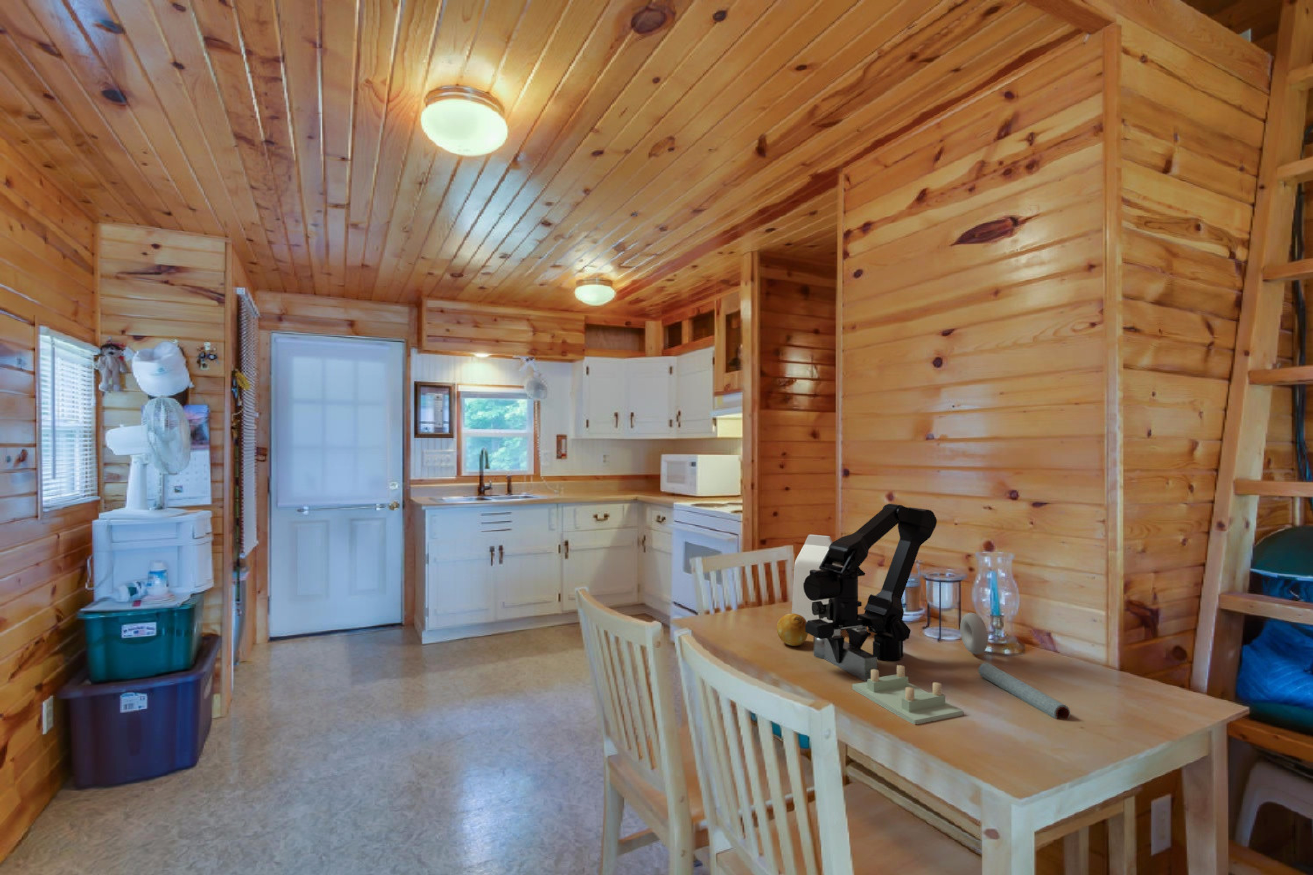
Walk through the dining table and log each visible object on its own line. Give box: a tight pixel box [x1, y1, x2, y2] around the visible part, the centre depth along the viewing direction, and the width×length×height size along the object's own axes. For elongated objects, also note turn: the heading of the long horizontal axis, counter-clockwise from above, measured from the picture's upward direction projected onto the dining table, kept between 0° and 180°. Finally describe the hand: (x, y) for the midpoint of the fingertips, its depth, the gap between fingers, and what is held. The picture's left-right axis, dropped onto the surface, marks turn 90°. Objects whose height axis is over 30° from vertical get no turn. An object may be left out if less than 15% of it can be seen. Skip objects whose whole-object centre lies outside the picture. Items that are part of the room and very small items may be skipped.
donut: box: [959, 612, 989, 655], centre depth 155 cm, size 10×4×10 cm, turn 178°
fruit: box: [776, 612, 809, 647], centre depth 162 cm, size 8×8×8 cm
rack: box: [851, 664, 964, 725], centre depth 127 cm, size 12×18×5 cm, turn 21°
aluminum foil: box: [978, 662, 1071, 720], centre depth 130 cm, size 23×7×3 cm, turn 8°
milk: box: [791, 534, 843, 626], centre depth 176 cm, size 12×12×26 cm
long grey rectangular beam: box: [813, 636, 878, 682], centre depth 147 cm, size 5×20×5 cm, turn 21°
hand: (845, 661), depth 146 cm, fingers closed on long grey rectangular beam, 3 cm apart
